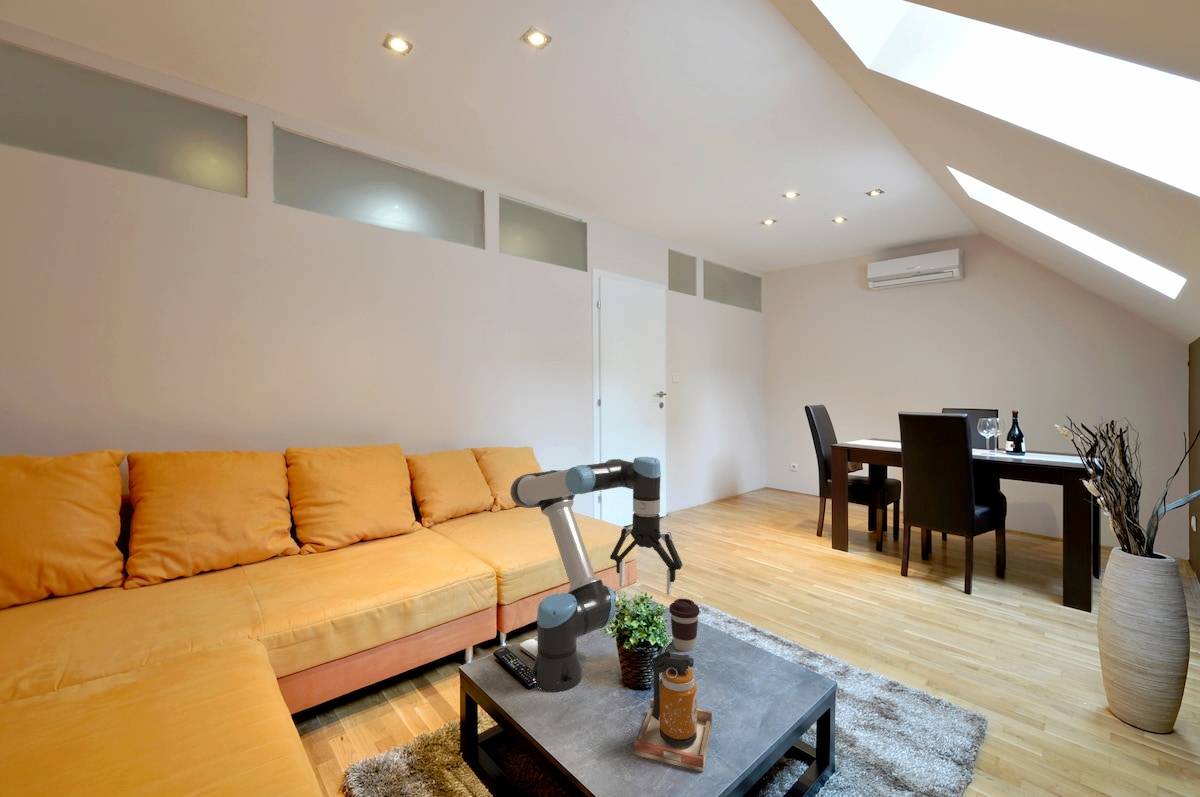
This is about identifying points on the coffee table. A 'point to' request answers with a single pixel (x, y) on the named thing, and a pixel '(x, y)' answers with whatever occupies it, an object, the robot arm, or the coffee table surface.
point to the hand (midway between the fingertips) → (645, 588)
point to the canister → (675, 698)
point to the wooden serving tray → (660, 750)
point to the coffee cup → (684, 624)
